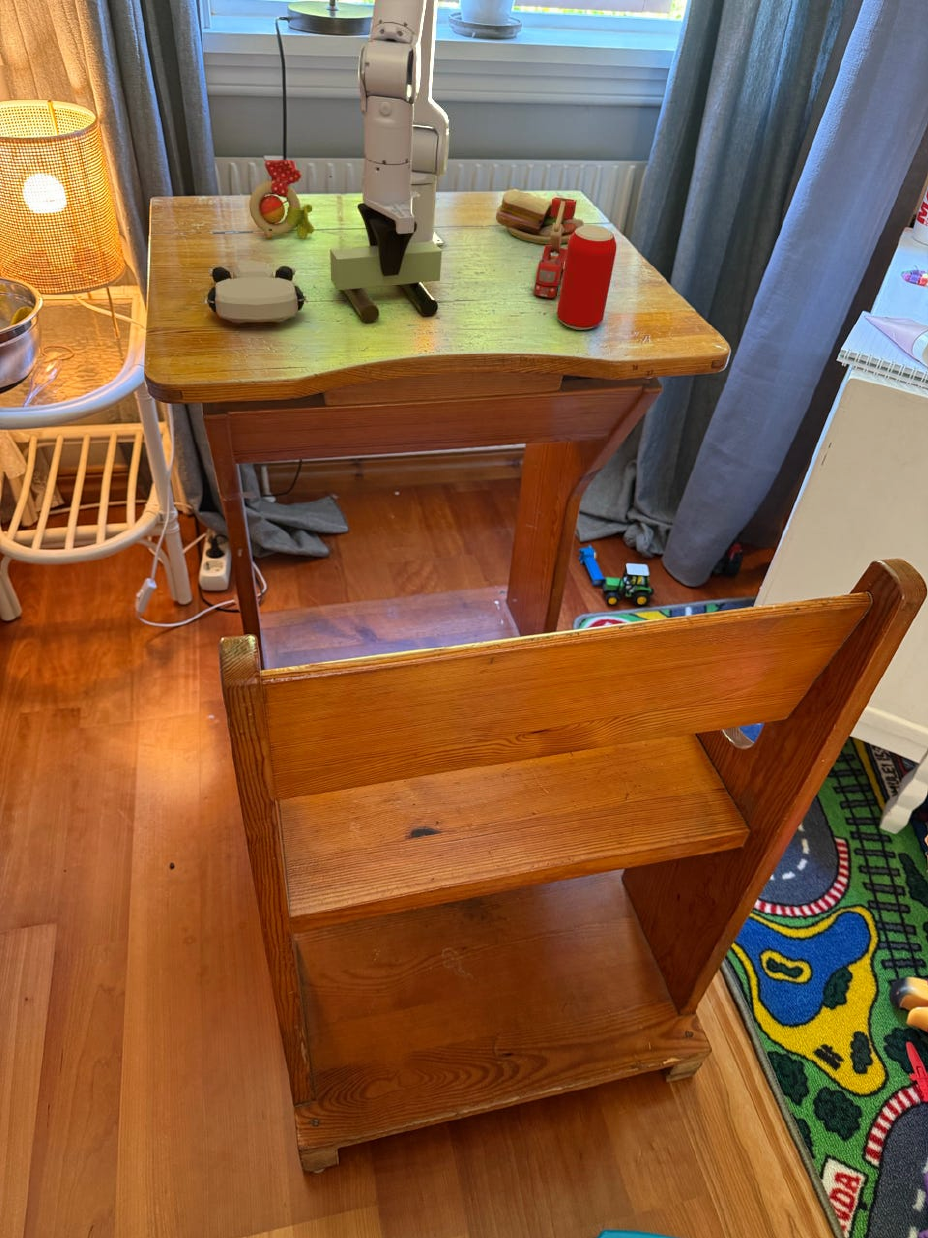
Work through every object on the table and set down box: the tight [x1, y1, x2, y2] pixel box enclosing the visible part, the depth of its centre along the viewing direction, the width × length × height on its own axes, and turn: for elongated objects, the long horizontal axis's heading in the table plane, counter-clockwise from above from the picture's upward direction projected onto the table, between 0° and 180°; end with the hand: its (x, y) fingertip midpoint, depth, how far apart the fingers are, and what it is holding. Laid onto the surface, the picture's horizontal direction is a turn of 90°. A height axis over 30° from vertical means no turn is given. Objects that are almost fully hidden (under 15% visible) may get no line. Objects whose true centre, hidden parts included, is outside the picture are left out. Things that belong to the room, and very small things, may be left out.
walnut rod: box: [342, 288, 380, 324], centre depth 120 cm, size 12×2×2 cm, turn 22°
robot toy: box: [204, 260, 309, 324], centre depth 116 cm, size 12×4×15 cm
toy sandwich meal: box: [495, 188, 585, 245], centre depth 142 cm, size 12×14×5 cm
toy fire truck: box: [533, 196, 578, 299], centre depth 127 cm, size 3×14×10 cm, turn 168°
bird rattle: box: [249, 158, 315, 240], centre depth 131 cm, size 6×11×9 cm
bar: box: [329, 241, 443, 291], centre depth 119 cm, size 14×3×4 cm, turn 112°
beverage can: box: [556, 224, 618, 331], centre depth 117 cm, size 6×6×12 cm
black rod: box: [400, 282, 439, 318], centre depth 123 cm, size 12×2×2 cm, turn 22°
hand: (386, 268), depth 119 cm, fingers closed on bar, 3 cm apart
